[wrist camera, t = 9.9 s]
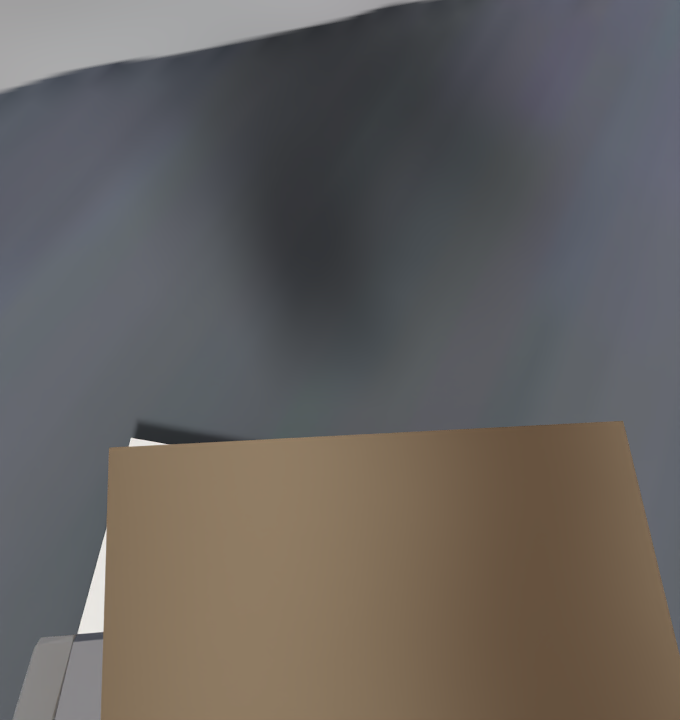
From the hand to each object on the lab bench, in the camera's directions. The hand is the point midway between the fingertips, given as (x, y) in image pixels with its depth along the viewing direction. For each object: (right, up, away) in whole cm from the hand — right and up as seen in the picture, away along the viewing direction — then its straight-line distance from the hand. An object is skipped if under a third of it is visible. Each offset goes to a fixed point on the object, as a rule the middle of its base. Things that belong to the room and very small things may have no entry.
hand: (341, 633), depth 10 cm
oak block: (-1, -3, +5) cm, 6 cm away
